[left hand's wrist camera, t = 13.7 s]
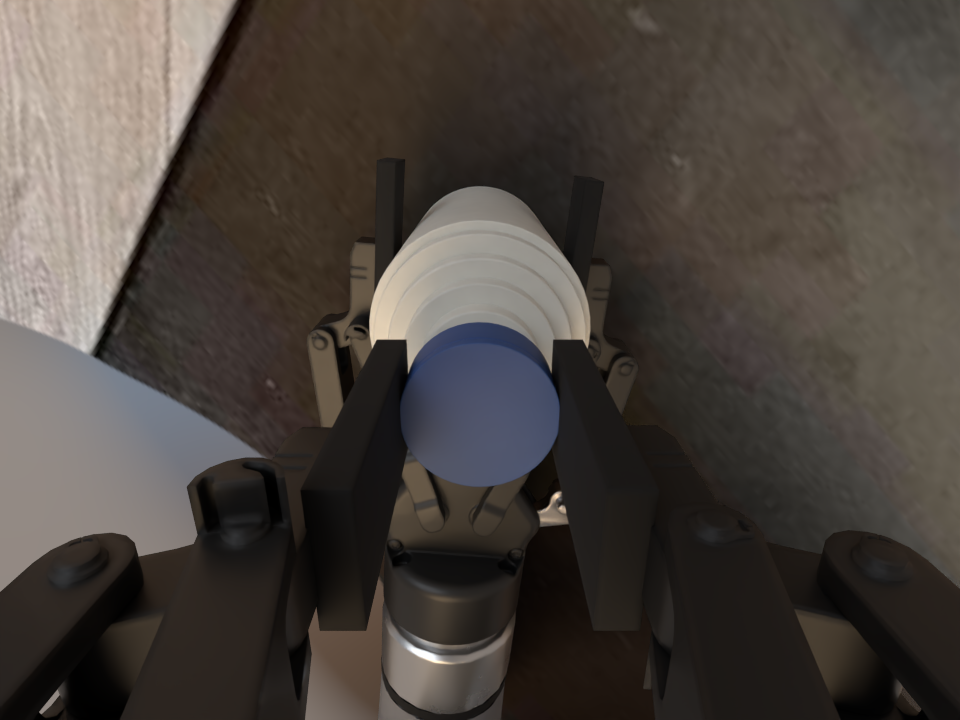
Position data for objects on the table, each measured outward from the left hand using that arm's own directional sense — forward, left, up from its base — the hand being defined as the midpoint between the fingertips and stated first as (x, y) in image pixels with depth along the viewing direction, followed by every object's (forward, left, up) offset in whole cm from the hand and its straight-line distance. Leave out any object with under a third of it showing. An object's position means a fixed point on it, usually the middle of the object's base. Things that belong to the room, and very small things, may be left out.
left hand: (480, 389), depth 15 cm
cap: (0, 0, +1) cm, 1 cm away
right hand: (-4, +3, -11) cm, 12 cm away
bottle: (0, 0, -18) cm, 18 cm away
